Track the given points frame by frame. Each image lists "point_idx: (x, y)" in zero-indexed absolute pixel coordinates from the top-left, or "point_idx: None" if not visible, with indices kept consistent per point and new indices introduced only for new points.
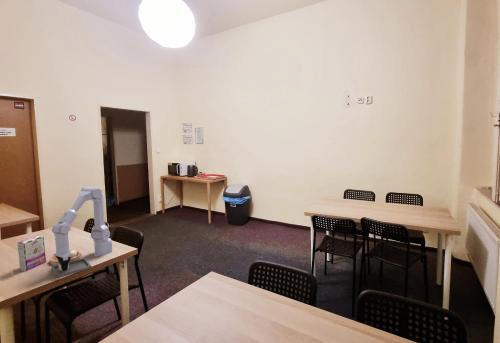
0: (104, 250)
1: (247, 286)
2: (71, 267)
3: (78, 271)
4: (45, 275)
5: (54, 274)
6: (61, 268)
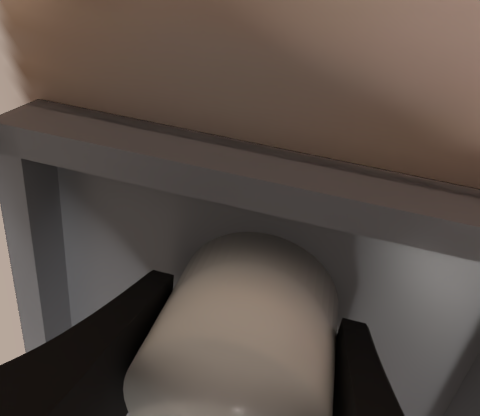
0: None
1: None
2: None
3: None
4: (396, 17)
5: (204, 143)
6: (172, 299)
